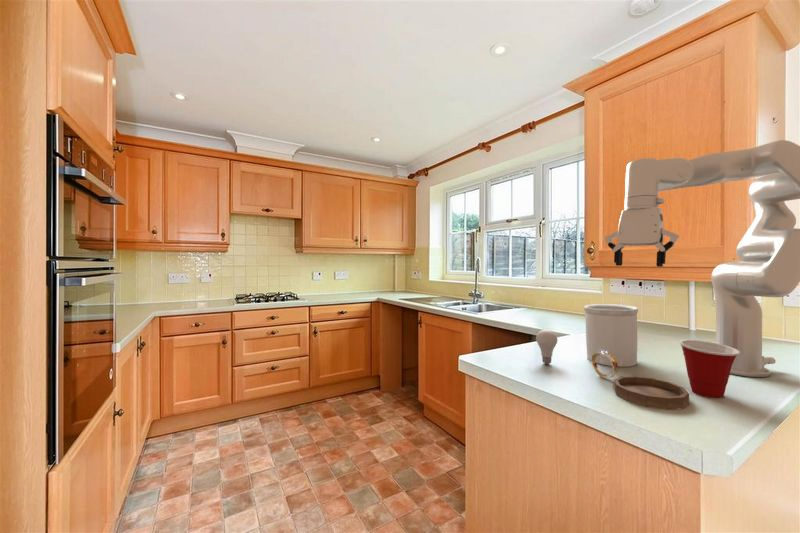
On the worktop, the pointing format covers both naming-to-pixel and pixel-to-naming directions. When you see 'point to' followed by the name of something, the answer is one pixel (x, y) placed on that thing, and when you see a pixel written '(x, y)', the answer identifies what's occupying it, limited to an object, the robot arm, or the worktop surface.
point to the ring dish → (651, 392)
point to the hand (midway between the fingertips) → (638, 266)
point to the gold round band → (611, 358)
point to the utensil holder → (612, 333)
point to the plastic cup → (708, 366)
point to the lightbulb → (546, 344)
